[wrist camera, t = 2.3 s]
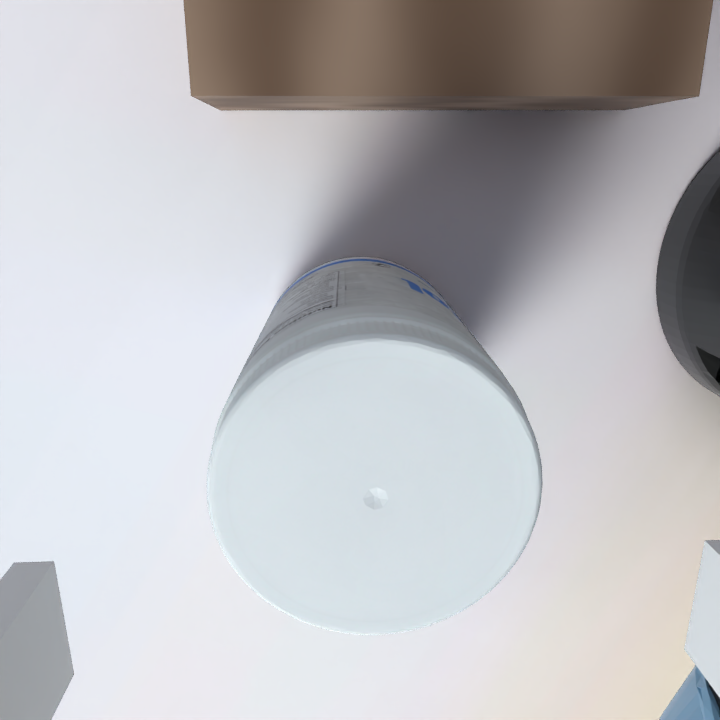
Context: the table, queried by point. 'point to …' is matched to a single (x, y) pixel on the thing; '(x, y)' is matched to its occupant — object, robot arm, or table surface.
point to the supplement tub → (371, 456)
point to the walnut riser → (445, 53)
